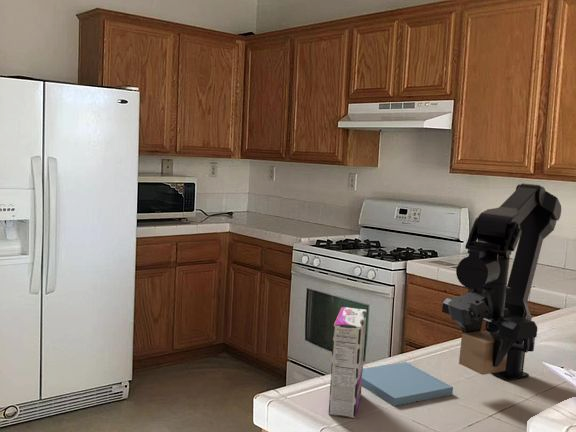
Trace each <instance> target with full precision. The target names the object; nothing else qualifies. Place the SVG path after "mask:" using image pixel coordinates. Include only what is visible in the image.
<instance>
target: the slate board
mask: <svg viewBox="0 0 576 432" xmlns="http://www.w3.org/2000/svg"><path fill="white" fill-rule="evenodd" d="M361 387H363V388H365V389H367V390H369V391H370V392H371V393H373V394H375V396H378V397H380V398H381V399H382V400H384V401H386V402H387V403H388V404H390V405H391V404H392V405H391V406H393V407H397V405H398V406H401V405H402V404H403V405H406V403H408V404H411V403H412V402H413V403H417V402H416V401H418V402H421V401H422V400H423V401H427V400H431V399H437V398H443V397H448V396H452V395H453V394H454V393H453V392H454V387H453V386H452V385H450V384H448V383H447V382H445V381H442V380H441V379H439V378H437V377H435V376H434V375H431V374H429V373H427V372H426V371H424V370H422V369H420V368H419V367H416V366H415V365H412V364H411V363H409V362H407V361H401V362H396V363H389V364H383V365H377V366H372V367H371V366H370V367H365V368H363V371H362V386H361Z"/></svg>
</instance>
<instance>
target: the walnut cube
mask: <svg viewBox="0 0 576 432" xmlns="http://www.w3.org/2000/svg"><path fill="white" fill-rule="evenodd" d="M493 348H494V339H493V338H492V336H491V334H490V332H488V331H486V329H485V330H480V331H476V332H469V333H462V332H461V340H460V351H459V357H458V358H459V359H458V364H459V365H461V366H463V367H465V368H467V369H469V370H471V371H473V372H475V373H478V374H480V375H481V376H483V375H489V374H493V373H495V372H501V371H505V369H506V360H507V354H506V355H505V357H504V358H503V360H502V361H501V363H500V364H499V366H498V367H494V366H493Z"/></svg>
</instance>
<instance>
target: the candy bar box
mask: <svg viewBox="0 0 576 432" xmlns="http://www.w3.org/2000/svg"><path fill="white" fill-rule="evenodd" d="M366 321H367V309H365V308H364V309H363V308H357V307H349V306H343V307H342V306H341V308H340V309H339V312H338V315H337V317H336V320H335V321H334V324H333V332H332V333H333V336H332V348H331V349H332V350H331V366H330V367H331V370H330V371H331V373H330V385H329V386H330V387H329V388H330V389H329V401H328V403H329V405H328V415H330V416H333V417H341V418H348V419H349V418H350V419H356V417H357V412H358V408H359V404H360V400H361V395H362V387H363V386H362V371H363V367H364V355H365V354H364V351H365V338H366V325H367V324H366V323H367V322H366Z"/></svg>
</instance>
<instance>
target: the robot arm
mask: <svg viewBox="0 0 576 432" xmlns="http://www.w3.org/2000/svg"><path fill="white" fill-rule="evenodd" d="M561 215H562V205H561V203H560V200H559V198H558V197H557V196H556V195H554V194H552V193H550V192H549V191H547V190H546V189H545V187H544V186H542V185H541V184H531V183H519V184H517V185H516V187H515V191H514V192H513V193H512V194H510V196H509V197H508V198H507V199H506V200H505V201H504V202H502V204H500V206H498V207H495V208H488V209H485V210H484V211H482V212H481V213H480V214H479V215H478V217H476V218H475V220H474V222H473V225H472V228H471V229H470V232H469V235H468V238H467V241H466V243H465V246H464V248H465V249H466V250H468V256H466V257H464V258H462V259H461V260H460V261H459V262H458V264H457V266H456V270H455V271H456V273H455V275H456V278H457V280H458V282H459V283H460V284H461V285H462V287H464V288H466V289H467V292H466V293H465V294H461V295H459V296H456V297H453V296H452V297H447V298H445V300H444V301H443V302H442V307H441V309H442V310H441V312H442V313H444V314H447V315H449V317H450V318H449V319H450V320H452V321H455V323H456V324H457V325H458V326H459V328H460V331H461V334H462V333H469V332H476V331H481V329H482V324H483V321H484V322H485V331H488V332H490V334H491V336H492V338H493V339H494V348H493V366H494V367H498V366H499V364H500V363H501V361H502V360H503V358H504V357H505V355H506V354H507V360H506V369H505V371H501V372H495V373H492V374H493V375H495V376H497V377H499V378H501V379H503V380H506V381H512V380H518V379H522V378H528V377H529V375H530V374H529V373H527V372H525V371H524V366H525V356H526V354H527V353H528V352H534V351H535V343H536V341H535V340H536V338H537V337H538V336H537V335H538V324H536V322H535V321H534V320H532V319H533V318H532V315H531V311H530V309H529V306H528V302H529V297H530V293H531V289H532V285H533V281H534V277H535V273H536V268H537V265H538V262H539V257H540V253H541V250H542V245H543V241H544V240H545V238H546V237H548V236H549V235H550V234H551V233H552V232H554V231H555V228H556V225H557V221H559V220H560V218H561ZM515 250H516V251H515ZM512 252H515V255H514V258H513V262H512V266H511V269H510V258H511V257H510V256H511V255H512ZM509 269H510V273H509ZM509 274H510V275H509Z"/></svg>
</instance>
